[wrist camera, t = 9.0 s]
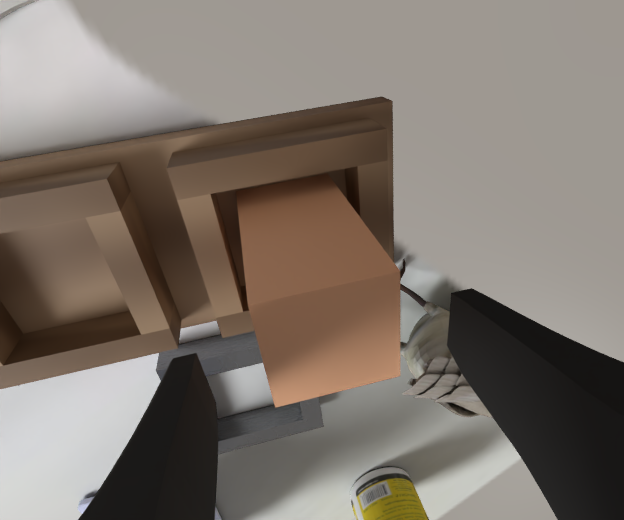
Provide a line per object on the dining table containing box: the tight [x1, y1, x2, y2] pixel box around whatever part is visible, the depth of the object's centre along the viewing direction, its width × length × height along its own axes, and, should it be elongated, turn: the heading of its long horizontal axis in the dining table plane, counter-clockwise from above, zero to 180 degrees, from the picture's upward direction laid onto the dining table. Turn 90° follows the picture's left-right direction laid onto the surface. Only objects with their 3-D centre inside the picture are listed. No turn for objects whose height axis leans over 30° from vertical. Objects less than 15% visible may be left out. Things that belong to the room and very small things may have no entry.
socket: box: [156, 331, 324, 454], centre depth 23 cm, size 8×8×2 cm
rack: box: [0, 97, 394, 389], centre depth 17 cm, size 9×20×3 cm, turn 97°
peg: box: [236, 174, 400, 408], centre depth 14 cm, size 4×4×8 cm
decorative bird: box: [400, 259, 493, 418], centre depth 22 cm, size 5×16×7 cm, turn 57°
